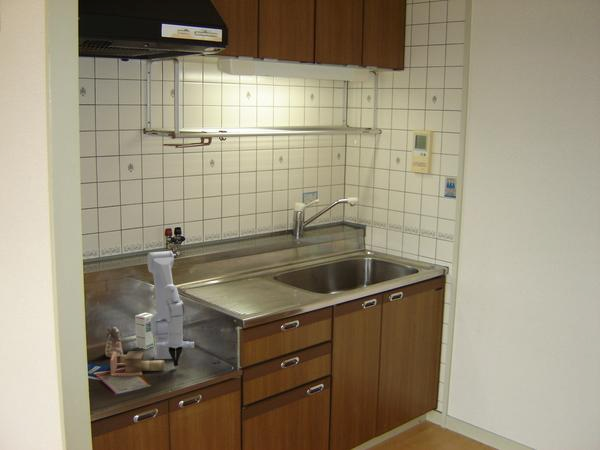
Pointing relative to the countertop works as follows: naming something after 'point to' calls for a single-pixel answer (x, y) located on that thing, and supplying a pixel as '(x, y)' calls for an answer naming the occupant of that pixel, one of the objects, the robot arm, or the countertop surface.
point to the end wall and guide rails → (114, 364)
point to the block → (134, 362)
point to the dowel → (153, 365)
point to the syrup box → (144, 331)
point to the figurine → (113, 342)
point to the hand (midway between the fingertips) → (175, 365)
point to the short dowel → (122, 358)
